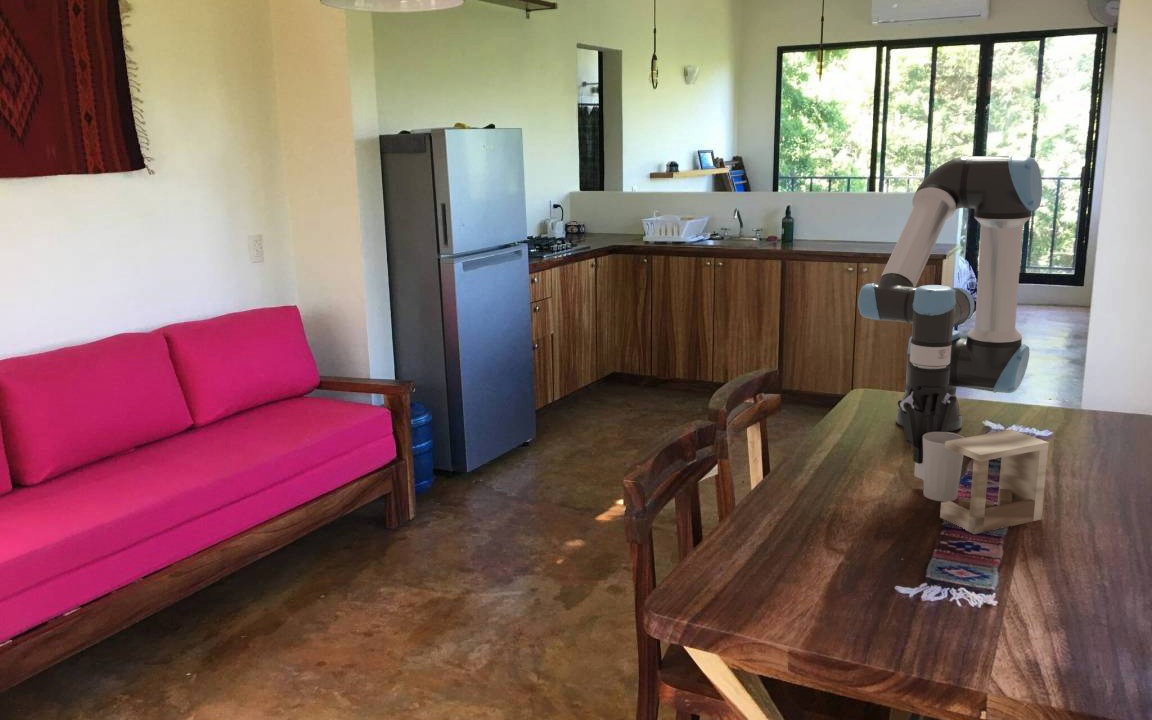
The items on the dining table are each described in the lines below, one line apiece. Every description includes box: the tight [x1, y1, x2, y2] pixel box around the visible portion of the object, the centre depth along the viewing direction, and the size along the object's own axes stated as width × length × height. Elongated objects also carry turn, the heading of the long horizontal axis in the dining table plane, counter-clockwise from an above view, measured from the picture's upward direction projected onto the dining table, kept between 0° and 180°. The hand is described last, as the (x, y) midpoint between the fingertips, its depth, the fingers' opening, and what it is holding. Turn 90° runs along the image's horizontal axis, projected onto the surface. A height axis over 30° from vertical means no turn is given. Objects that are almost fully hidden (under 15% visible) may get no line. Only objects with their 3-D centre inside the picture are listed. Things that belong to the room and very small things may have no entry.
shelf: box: [939, 429, 1050, 535], centre depth 172 cm, size 8×16×15 cm, turn 112°
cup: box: [923, 431, 966, 502], centre depth 184 cm, size 8×8×12 cm
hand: (921, 477), depth 189 cm, fingers closed
